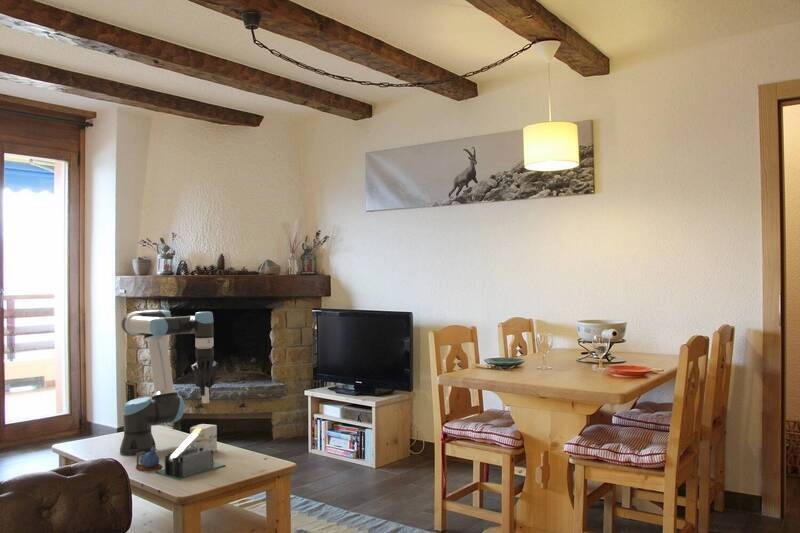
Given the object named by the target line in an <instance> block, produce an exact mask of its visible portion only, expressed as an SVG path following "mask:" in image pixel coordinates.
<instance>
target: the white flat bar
mask: <svg viewBox="0 0 800 533" xmlns="http://www.w3.org/2000/svg"><path fill="white" fill-rule="evenodd" d="M203 431H204V430H203V429H201V428H196V429H195V430H194V431H193V433H192V434H191V435H190V434H189V436H187V438H186V439H185V440H184V441H182V443H181V444H180V445H179V446H178V448H176V449H175V451H173V452H174V453H173V454H172V455H171V456H170V457H169V458H168V459H167V461H169V462H173V458H175V457H180V456H181V455H182V454H183V453H184V452H185V451H186V450H187V449H188V448H190V445H191V444H192V443H193V442H194V441H195V440H196V439H197V438H198V437H199V436H200V435H201V434H202V432H203Z"/></svg>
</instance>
